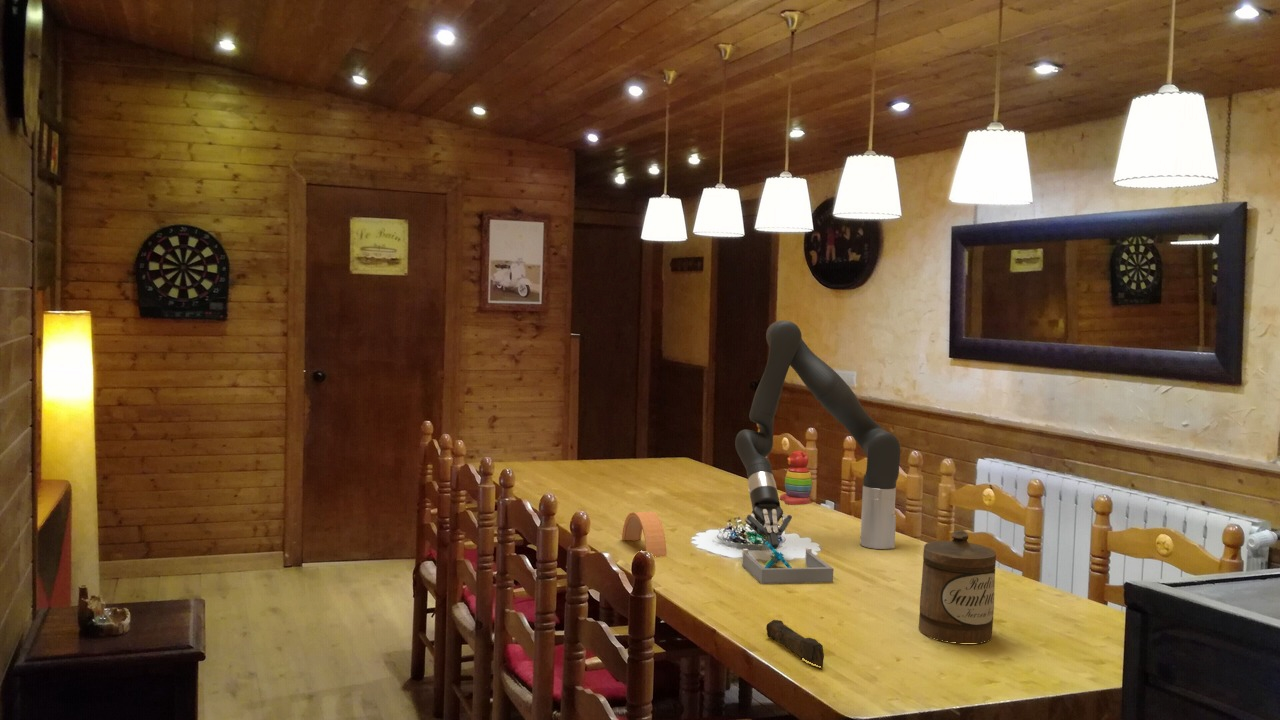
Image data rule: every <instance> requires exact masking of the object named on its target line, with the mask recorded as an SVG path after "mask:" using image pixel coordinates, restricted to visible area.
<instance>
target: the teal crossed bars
mask: <svg viewBox="0 0 1280 720" xmlns="http://www.w3.org/2000/svg"><path fill="white" fill-rule="evenodd" d="M764 544H765V545H766V546H767V547H768V549H769V550H770V551H771V552H772V553H771V554H772V555H770V559H768V560H767V562H765V564H764V565H765V567H764V568H772V567H773V566H774V565H775V564H778V563H779V561H780V562H782V563H783V564H784V566H785V568H793V567H792V566H791V565H790V564H789V563H788V562H787V560H786V559H785V558H784V554H783V552H781V551H780V552H779V551H777V549H774V548H773V547H772V546H771V545H770V544H769V542H768V541H767V540H766V541H765V542H764Z"/></svg>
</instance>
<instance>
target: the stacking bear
mask: <svg viewBox="0 0 1280 720" xmlns="http://www.w3.org/2000/svg"><path fill="white" fill-rule="evenodd" d="M809 461H810V460H809V455H808V453H806V452H805V451H802V450H798V449H796V450H795V451H793V452H791V454H790V455H789V456H788V457H787V464H788V465H789V467H788V468H787V470H786V471H787V472H786V473H785V477H784V488H785V493H783V494H780V496H779V500H780V501H784V504H786V505H791V506H792V505H793V506H794V505H795V506H796V505H800V506H801V505H808V504H810V503H811V502H812V500H811V497H810V496H811V492H812V489H813V488H812V487H813V480H812V473H811V471H810V469H809V468H808V465H809Z"/></svg>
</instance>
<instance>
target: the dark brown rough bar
mask: <svg viewBox="0 0 1280 720" xmlns="http://www.w3.org/2000/svg"><path fill="white" fill-rule="evenodd" d="M765 627H766V629H765V630H766V636H767V638H769V637H771V638H770V639H771V640H772V639H774V640H775V641H776V642H778V643H780V644H782V645H783V646H785V648H788V649H789V650H790V651H792V652H794V653H796V654H797V656H799V657H800V658H801V657H802V658H804V659H805V660H807V661H809V662H811V663H813V664H816V665H818V666H821V667H822V668H823V667H824V659H825V653H824V647H823V645H822V643H820V642H818V640H817V639H815V638H812V637H804V636H802V635H801V634H799V633H798V632H797V631H794V630H793V629H792V628H791V627H789V626H787V625H785V624H784V622H783V621H782V620H779V619H773V620H771V621H770V622H768V623H767V624H766V626H765Z"/></svg>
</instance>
